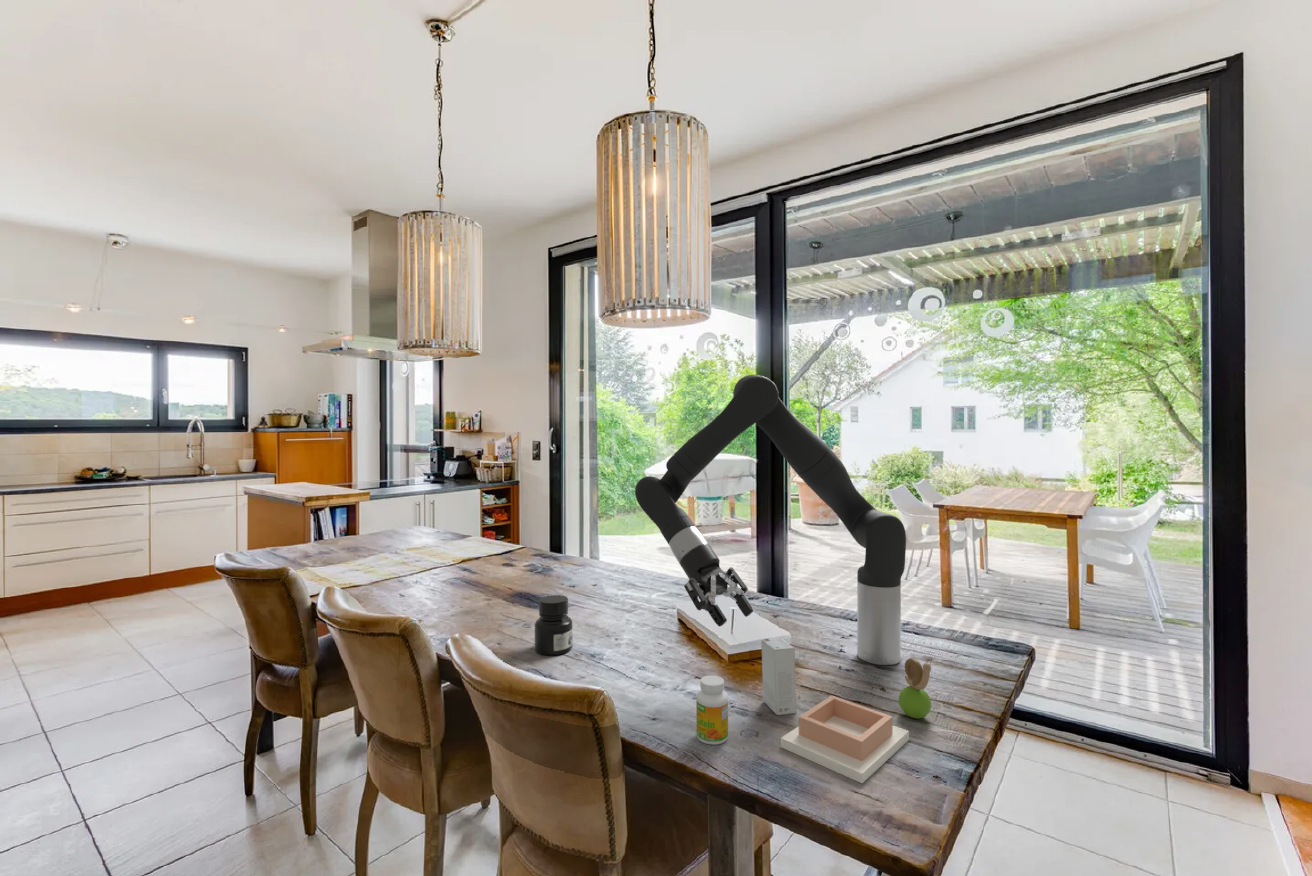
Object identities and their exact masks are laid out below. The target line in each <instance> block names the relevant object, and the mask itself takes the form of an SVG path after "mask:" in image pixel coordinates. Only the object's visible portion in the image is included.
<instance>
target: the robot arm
mask: <svg viewBox="0 0 1312 876" xmlns="http://www.w3.org/2000/svg"><path fill="white" fill-rule="evenodd" d="M732 395H733V396H732V399H731V400H730V401H729V402H728V404H727V405H726V407H724V409H723V410H722V411H721V412H720V413H719V414H718V415H717V416H716V417H715V418H714V419H713V420H712V421H711V422H710V423H708V424H707V425H705V426H704V427H703V428H702V429H701V430H700V431H698V432H697V433H695V434H694V435H693V436H692V437H690V439H688V440H687V441H686V442H685V443H683V445H682V446H681V447H680V448H679V449H678V450H677V451H676V452H675V453H674V454H672V456H670V458H668V460H667V461H666V464H665V466H666V472H665V473H664V474H663V475H662V477H661V478H658V477H655V476H644V477H642V478H641V479H640V480H638V482H637V483H636V485H635V488H634V495H635V499H636V501H637V503H638V505H639V506H640V508H641V510H643V512H644V513H645V514H646V515H647V517H649V518H650V520H651V521H652V522H653V523H654V524H655V525H656V527H657V528H658V529H659V531H660V534H661V535H662V537H663V538H664V540H665V541H666V543H667V544H668V546H669V548H670V550H671V553H672V554H673V556H674V557H675V559H676V561H677V563H678V564H679V565H680V567H681V568H682V570H683V572H684V573H685V576H686V577H687V578H688V581H687V582H686V583H685V584H684V586H683V587H684V589H685V591H686V592H687V594H688V596H689V598H690V599H691V601H692V603H693V605H694V606H695V608H696V610H697V611H702V610H705V611H706V612H707V613H708V614H709V616H710V617H711V619H712V621H713V622H714V623H715V624H716V625H717V627H722V626H724V624H726V623H727V622H728V621H727V617H726V616H725V615H724V612H723V611H722V610H721V608H720V606H719V605H718V604H716V596H721V595H723V596H724V597H726V598H727V597H729V598H730V599H732V600H734V601H735V604H736V605H737V607H738V608H739V610H740V611H741V613H742V614H743V616H744V617H745V618H746V617H749V616H751V614H752V613H753V612H754V610H753V607H752V605H751V604H750V602H749V600H748V599H747V598H746V596H745V594H746V592H748V591H749V588H748V587H747V585H746V584H745V582H744V581H743V579H742V578H741V577H740V576H739V574H738V573H737V571H736V570H735V568H733V567H728V569H727V570H725V571H724V570H723V569H722V568H721V567H720V563H721V562H720V561H721V560H720V558H719V557H718V555H717V553H716V552H715V551H714V550H713V548H712V546H711V545H710V544H709V542H708V541H707V539H706V538H705V536H704V535H703V533H701V531H700V530H699V528H698V527H697V526H696V525H695V523H694V522H693V520H691V518H690V516H689V515H688V513H687V512H686V511H685V510H684V509H683V508H682V507H680V506H678V505H677V504H676V503H677V502H678V500H679V499H680V498H681V496H682V495H683V494H684V493H685V490H686V489H687V488H688V486H689V484H690V483H691V481H693V480H694V479H695V478H696V477H697V476H698V475H699V474H700V473H701V472H702V471H703V470H704V469H705V468H706V467H707V466H708V465H710V463H711V462H712V461H713V460H714V459H716V457H717V456H718V455H719V454H721V452H722V451H723V450H724V449H725V448H726V447H727V446H729V444H731V443H732V442H733V441H735V440H736V438H738V436H740V435H741V434H742V433H744V432H745V431H746V430H747V429H749V428H750V427H752V426H753V425H754V424H755V425H757V426H758V427H759V428H760V429H761V430H762V431H763V432H764V433H765V434H766V435H767V436H768V437H769V439H770V440H771V441H772V443H773V444H774V445H775V447H776V449H777V450H778V451H779V452H780V454H781V456H782V457H783V458H784V459H785V461H786V462H787V464H788V465H789V466H790V467H791V469H792V470H793V471H794V472H795V473H796V474H797V475H798V477H800V479H802V481H803V482H804V483H805V485H807V486H808V487H809V489H811V490H812V492H814V493H815V494H816V496H818V497H819V498H820V500H822V501H823V502H824V504H825V505H827V506H828V507H829V508H830V509H831V510H832V511H833V512H834V513H835V514H836V516H837V517H838V518H839V520H840V521H841V523H842V524H843V525H844V527H845V528H846V530H847V531H848V532H849V534H850V535H851V536H852V538H853V539H854V540H855V542H856V543H857V544H859V545H860V546H861V547H862V548H863V549H865V558H864V565H862V566H860V567H859V568H858V569H857V573H856V575H857V580H856V581H857V586H856V587H857V592H856V594H857V595H856V596H857V598H856V599H857V600H856V601H857V602H856V603H857V604H856V605H857V609H856V613H857V614H856V615H857V619H856V621H857V625H856V627H857V629H856V631H857V634H856V635H857V636H856V637H857V639H856V641H857V642H856V647H857V648H856V651H857V653H856V655H857V657H858V659H860V660H862V661H864V662H867V663H870V664H874V665H879V666H892V665H897V664H899V663H900V662H901V646H902V645H901V644H902V643H901V634H902V633H901V631H902V630H901V627H902V625H901V624H902V623H901V622H902V619H901V617H902V615H901V614H902V613H901V612H902V610H901V609H902V607H901V606H902V604H901V603H902V602H901V601H902V597H901V596H902V595H901V593H902V592H901V590H902V584H901V583H902V576H903V574H904V572H905V568H906V567H905V565H906V564H905V563H906V552H907V551H906V550H907V535H906V530H905V525H904V524H903V522H902V520H901V519H900V518H899V517H897V516H895V515H893V514H890V513H889V512H888V513H887V512H883V511H881V510H878V509H877V508H875V506H873V505H872V504H871V503H870V502H869V501H868V500H867V499H866V498H865V497H864V496H863V495H862V494H861V493H860V492H859V491H858V490H857V489H856V487H855V485H854V483H853V482H852V479H851V477H850V475H849V472H848V471H847V468H846V466H845V465H844V463H843V461H842V460H841V459H840V458H839V456H838V455H837V454H835V452H834V451H833V449H831V448H830V446H829V445H828V444H827V443H826V442H825V441H824V440H823V439H822V438H821V437H820V436H818V435H817V433H815V432H814V431H813V430H812V429H811V428H809V427H808V426H807V425H805V424H804V423H803V422H802V421H801V420H799V419H798V418H797V417H796V416H795V415H794V414H793V413H792V412H791V411H790V410H789V408H788V407H787V406H786V404H785V403H784V402H783V401H782V400H781V398H780V397H779V390H778V387H777V385H776V384H775V383H774V381H772V380H771V379H770V378H768V377H766V376H763V375H759V374H748V375H745V376H743V377H741V378H740V379H739V380H737V382H736V384H735V386H734V387H733V392H732ZM738 585H739V587H738Z"/></svg>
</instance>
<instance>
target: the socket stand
mask: <svg viewBox="0 0 1312 876" xmlns="http://www.w3.org/2000/svg"><path fill="white" fill-rule="evenodd" d="M893 721H894V720H893V716H892V715H889V714H887V713H884V712H882V711H878V710H875V709H872V708H869V707H866V706H863V705H862V704H858V703H856V702H852V701H850V700H847V699H843V698H841V697H837V696H835V695H832V694H831V695H829V696H828V697H826V698H825V699H824V700H822V701H821V702H819V703H817V704H816V705H814V706H812V707H811V708H810V709H809V710H807V711H805V712H804V713H802V714H801V715H798V726H796V727H795V728H793V729H792V730H791V731H789V732H787V733H786V734H784V735H783V736H781V737H780V748H782V749H784V750H786V751H789V752H791V753H793V754H796V755H797V756H800V757H802V758H804V759H807V760H809V761H810V762H813V763H815V764H818V765H820V766H822V767H824V768H827V769H829V770H831V771H833V772H835V773H838V774H840V775H841V776H844V777H847V778H849V779H850V780H853V781H856V782H857V783H860V784H863V783H865V782H866V781H867V780H868V779H869V778H870V777H871V776H873V774H874V773H876V772H877V770H879V768H881V767H882V766H883V765H884V764H885V763H886V762H887V761H889V759H891V757H892V756H893V755H895V754H896V753H897V752H898V751H899V750H900V749H901V748H902V747H903V746H904V745H905V744H906V743H907V742H909V740H910V731H909V730H907V729H904V728H901V727H899V726H895V725H893Z"/></svg>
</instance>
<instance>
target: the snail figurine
mask: <svg viewBox="0 0 1312 876" xmlns="http://www.w3.org/2000/svg"><path fill="white" fill-rule="evenodd" d="M924 659H925V662H926V663H923V665H922V664H921V663H920V661H919V660H917V659H915V658H912V657H910V658H908V659H906V660H905V663H904V672H905V676H904V680H905V682H906V683H907V685H908V686H905V687H904V688H902V689H901V691H900V692H899V694H898V704H899V707H900V709H901V710H902V712H903V713H904V714H905V715H907V717H910V718H913V719H917V720H918V719H923V718H925V717H927V716H928V715H929V713H930V712H931V710H932V699H931V696H930V695H929V694H928V692H927V691H926V690H925V689H926V688H927V686H928V684H929V681H930V673H931V670H932V666H931V663H932V661H933V658H931V657H929V658H928V657H927V658H924ZM928 662H930V663H928Z"/></svg>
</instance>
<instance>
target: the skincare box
mask: <svg viewBox="0 0 1312 876" xmlns="http://www.w3.org/2000/svg"><path fill="white" fill-rule="evenodd" d="M760 641H761V667H762V670H761V671H762V694H763V695H762V698H763V699H762V701H763V702H764V703H765V704H766V705H767V706H768V707H769V709H770V710H771V711H772V712H773V713H774V714H775V715H777V716H783V715H791V714H796V713H797V693H796V692H797V690H796V689H797V687H796V682H797V681H796V655H795V654H796V650H795V647H794V646H792V645H791V644H789V643H788V642H787V641H785V640H784V639H783V638H782V637H773V638H765V639H761V640H760Z"/></svg>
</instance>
